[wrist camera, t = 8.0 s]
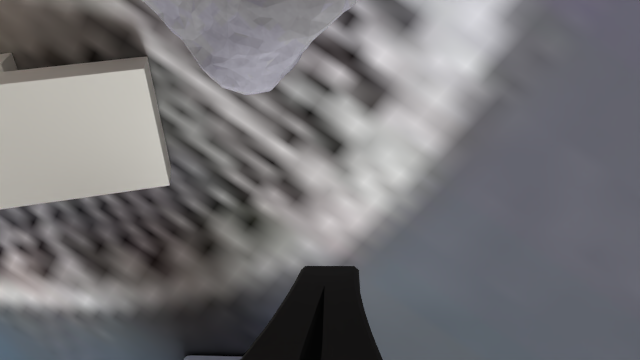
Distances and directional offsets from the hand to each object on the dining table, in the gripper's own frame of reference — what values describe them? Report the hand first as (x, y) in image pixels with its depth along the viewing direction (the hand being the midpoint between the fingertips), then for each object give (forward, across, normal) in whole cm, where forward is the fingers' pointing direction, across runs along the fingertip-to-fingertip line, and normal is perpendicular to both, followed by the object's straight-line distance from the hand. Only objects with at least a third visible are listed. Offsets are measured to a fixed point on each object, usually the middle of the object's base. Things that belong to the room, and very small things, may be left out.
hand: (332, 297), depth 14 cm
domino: (+9, +8, -1) cm, 12 cm away
